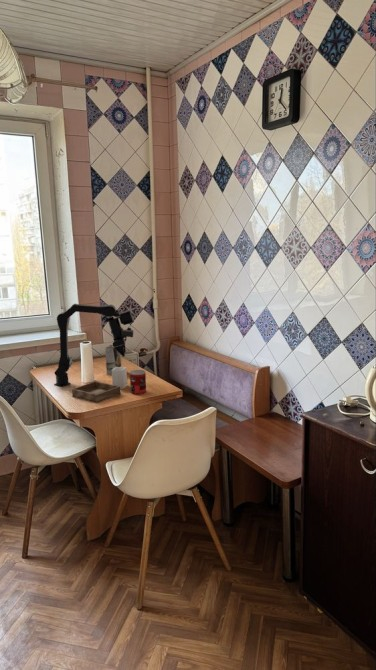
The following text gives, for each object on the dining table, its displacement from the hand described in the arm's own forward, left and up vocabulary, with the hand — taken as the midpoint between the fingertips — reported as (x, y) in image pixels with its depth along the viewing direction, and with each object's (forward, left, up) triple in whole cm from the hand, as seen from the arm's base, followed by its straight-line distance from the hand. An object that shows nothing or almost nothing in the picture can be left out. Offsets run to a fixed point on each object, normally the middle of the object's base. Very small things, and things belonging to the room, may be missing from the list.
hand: (124, 354), depth 259 cm
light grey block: (+4, -8, -16) cm, 18 cm away
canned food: (+19, -10, -16) cm, 26 cm away
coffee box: (-18, +10, -16) cm, 26 cm away
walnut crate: (+4, -25, -15) cm, 30 cm away
